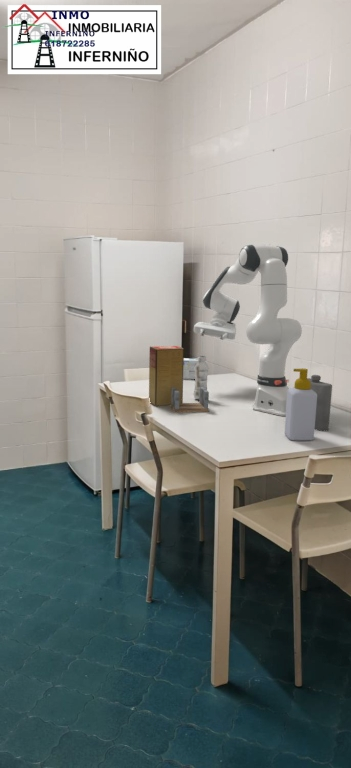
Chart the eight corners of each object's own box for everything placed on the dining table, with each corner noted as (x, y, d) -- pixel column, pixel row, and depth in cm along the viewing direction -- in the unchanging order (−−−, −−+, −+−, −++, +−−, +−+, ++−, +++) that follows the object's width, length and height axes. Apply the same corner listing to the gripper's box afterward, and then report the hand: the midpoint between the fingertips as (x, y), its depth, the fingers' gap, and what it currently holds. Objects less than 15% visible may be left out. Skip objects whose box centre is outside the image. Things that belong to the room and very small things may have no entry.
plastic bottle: (210, 399, 262) (212, 356, 258) (201, 402, 257) (202, 358, 253) (199, 397, 266) (201, 354, 262) (190, 399, 261) (191, 356, 257)
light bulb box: (199, 377, 314) (200, 358, 311) (198, 380, 307) (199, 360, 305) (180, 376, 315) (180, 357, 312) (178, 379, 308) (179, 359, 306)
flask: (294, 421, 228) (298, 372, 224) (306, 420, 230) (310, 371, 226) (319, 431, 215) (323, 379, 211) (331, 430, 217) (335, 378, 213)
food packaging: (175, 399, 259) (176, 345, 254) (183, 404, 251) (185, 348, 246) (147, 401, 254) (148, 346, 249) (155, 406, 246) (156, 349, 241)
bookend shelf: (208, 411, 240) (209, 392, 238) (174, 412, 237) (175, 392, 235) (203, 406, 249) (203, 387, 248) (170, 406, 247) (170, 387, 245)
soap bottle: (283, 433, 210) (288, 366, 205) (307, 434, 211) (312, 367, 206) (289, 441, 201) (294, 371, 196) (314, 441, 202) (320, 371, 197)
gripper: (197, 317, 279) (191, 326, 267) (238, 324, 275) (233, 333, 263) (196, 329, 282) (189, 338, 270) (236, 336, 278) (232, 346, 266)
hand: (211, 336), depth 266 cm, fingers open, 8 cm apart
